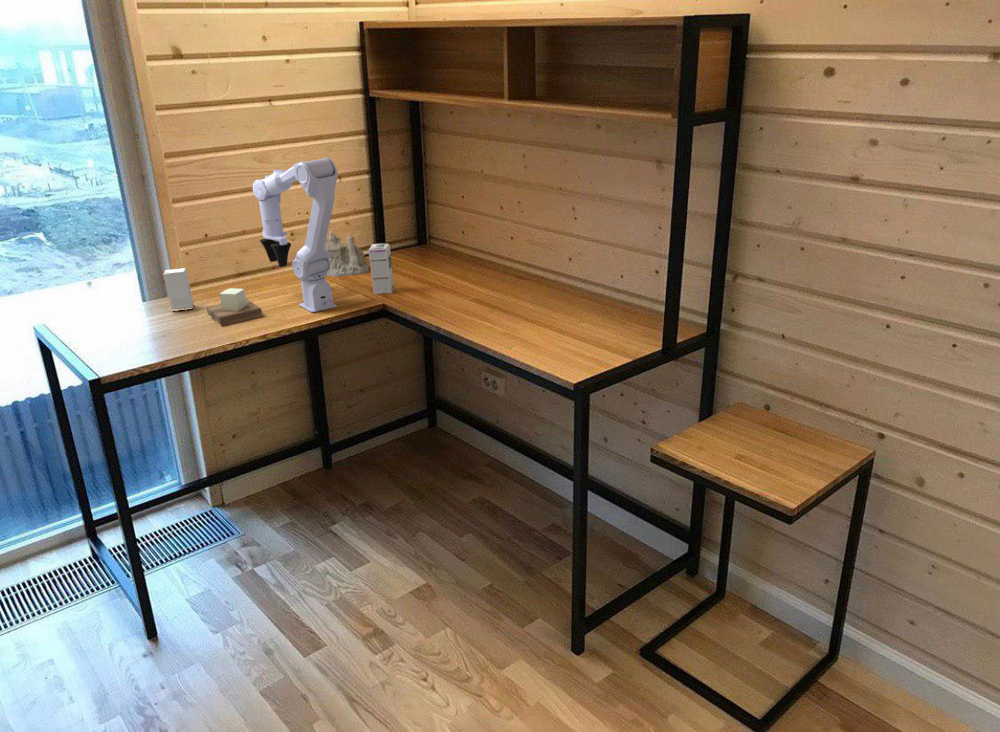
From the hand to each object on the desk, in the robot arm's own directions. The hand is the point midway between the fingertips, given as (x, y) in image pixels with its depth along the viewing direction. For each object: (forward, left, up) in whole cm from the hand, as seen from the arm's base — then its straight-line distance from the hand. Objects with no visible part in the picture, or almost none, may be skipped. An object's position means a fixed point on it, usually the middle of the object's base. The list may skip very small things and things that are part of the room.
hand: (278, 263), depth 243 cm
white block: (-8, +18, -8) cm, 21 cm away
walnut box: (-8, +18, -11) cm, 23 cm away
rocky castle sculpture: (+14, -28, -11) cm, 33 cm away
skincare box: (+9, +28, -11) cm, 31 cm away
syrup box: (-17, -26, -11) cm, 33 cm away
